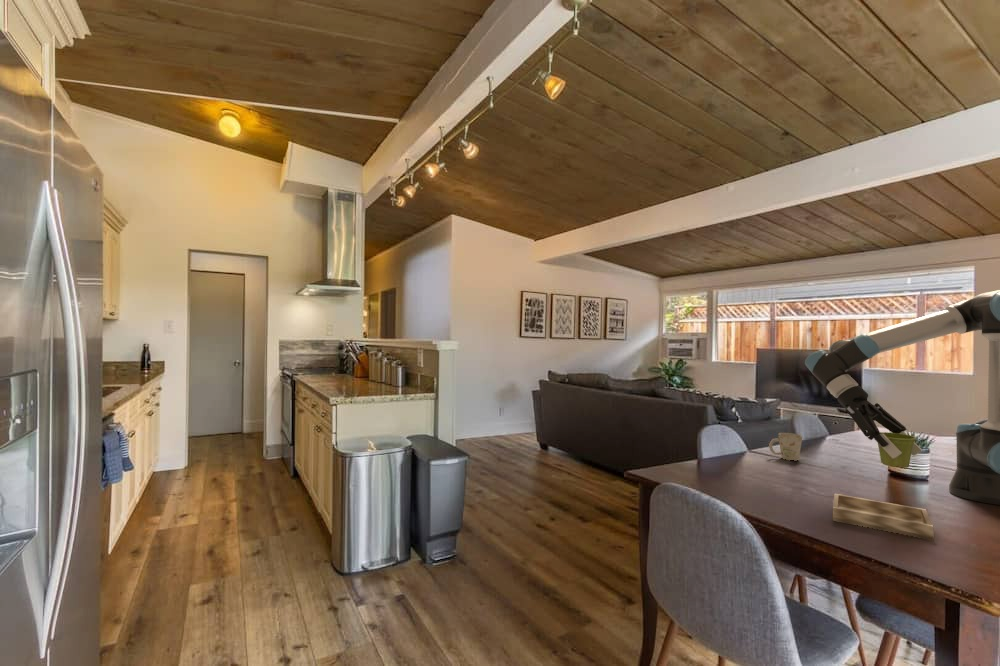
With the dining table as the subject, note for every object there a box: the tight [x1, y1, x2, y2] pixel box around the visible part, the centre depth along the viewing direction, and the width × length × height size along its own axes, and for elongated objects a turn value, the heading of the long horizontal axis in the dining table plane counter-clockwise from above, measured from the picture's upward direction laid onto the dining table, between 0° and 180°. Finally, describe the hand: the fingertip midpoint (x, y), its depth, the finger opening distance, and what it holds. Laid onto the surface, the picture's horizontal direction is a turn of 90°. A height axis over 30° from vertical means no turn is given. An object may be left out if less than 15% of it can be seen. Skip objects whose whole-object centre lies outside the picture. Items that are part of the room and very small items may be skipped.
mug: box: [768, 432, 803, 462], centre depth 192 cm, size 8×13×10 cm, turn 89°
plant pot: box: [877, 431, 917, 469], centre depth 135 cm, size 9×9×9 cm
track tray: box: [832, 493, 935, 542], centre depth 125 cm, size 20×15×4 cm
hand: (907, 454), depth 132 cm, fingers closed on plant pot, 9 cm apart
